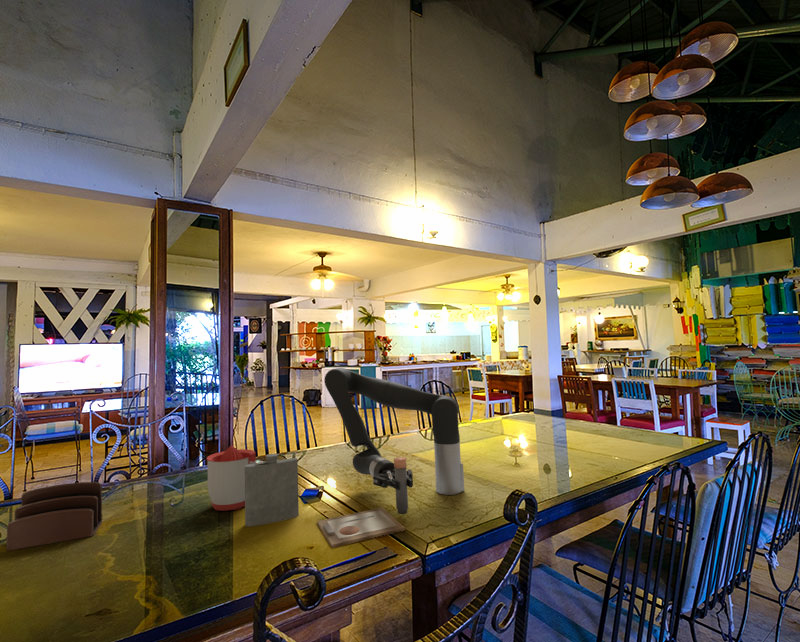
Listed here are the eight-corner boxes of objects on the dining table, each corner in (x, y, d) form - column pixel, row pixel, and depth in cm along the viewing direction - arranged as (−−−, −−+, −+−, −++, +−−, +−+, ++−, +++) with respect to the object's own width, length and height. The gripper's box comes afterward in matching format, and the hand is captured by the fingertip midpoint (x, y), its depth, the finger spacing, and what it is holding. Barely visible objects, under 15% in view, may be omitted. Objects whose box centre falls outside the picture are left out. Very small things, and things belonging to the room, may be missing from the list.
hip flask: (297, 512, 134) (296, 449, 135) (300, 517, 130) (298, 452, 131) (244, 523, 127) (243, 456, 128) (246, 528, 123) (245, 459, 125)
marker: (405, 508, 130) (403, 456, 130) (410, 513, 126) (408, 459, 127) (394, 511, 128) (391, 458, 129) (399, 515, 124) (396, 461, 125)
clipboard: (382, 510, 133) (382, 505, 134) (404, 530, 118) (404, 524, 118) (317, 523, 125) (316, 518, 125) (332, 547, 109) (331, 541, 109)
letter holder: (21, 537, 123) (22, 488, 124) (102, 524, 131) (102, 478, 132) (5, 552, 114) (6, 499, 115) (93, 537, 122) (93, 487, 123)
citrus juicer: (251, 513, 135) (250, 450, 136) (197, 515, 135) (197, 452, 136) (267, 496, 150) (266, 439, 152) (219, 497, 151) (219, 441, 152)
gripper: (363, 462, 138) (382, 476, 122) (402, 456, 144) (425, 468, 128) (364, 486, 137) (383, 502, 122) (403, 478, 143) (426, 493, 128)
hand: (405, 485), depth 125 cm, fingers closed on marker, 3 cm apart
